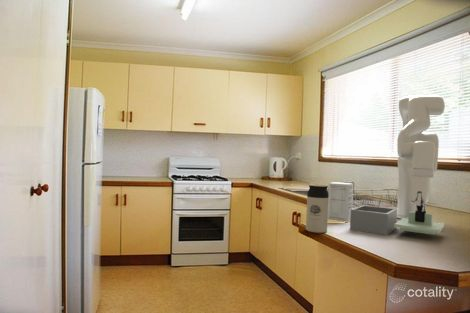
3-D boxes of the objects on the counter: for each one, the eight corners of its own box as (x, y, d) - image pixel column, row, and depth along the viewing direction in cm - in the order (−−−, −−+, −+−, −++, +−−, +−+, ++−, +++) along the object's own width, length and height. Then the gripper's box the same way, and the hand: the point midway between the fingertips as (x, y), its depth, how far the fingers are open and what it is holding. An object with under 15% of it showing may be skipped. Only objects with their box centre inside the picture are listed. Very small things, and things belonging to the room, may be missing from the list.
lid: (403, 223, 156) (403, 208, 156) (444, 228, 148) (445, 212, 148) (393, 229, 141) (394, 213, 141) (439, 236, 132) (440, 218, 132)
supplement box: (352, 219, 175) (354, 183, 175) (347, 222, 168) (349, 184, 167) (332, 216, 180) (334, 181, 180) (326, 219, 172) (328, 182, 172)
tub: (362, 223, 165) (363, 205, 165) (396, 228, 158) (397, 209, 157) (349, 229, 150) (350, 209, 150) (386, 234, 143) (387, 213, 142)
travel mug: (311, 227, 150) (313, 183, 150) (330, 231, 145) (332, 184, 145) (302, 230, 144) (304, 183, 144) (321, 234, 139) (323, 185, 139)
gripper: (415, 172, 153) (412, 217, 153) (408, 173, 140) (405, 222, 140) (435, 173, 149) (433, 220, 149) (430, 174, 135) (428, 225, 136)
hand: (420, 220), depth 144 cm, fingers closed on lid, 2 cm apart
